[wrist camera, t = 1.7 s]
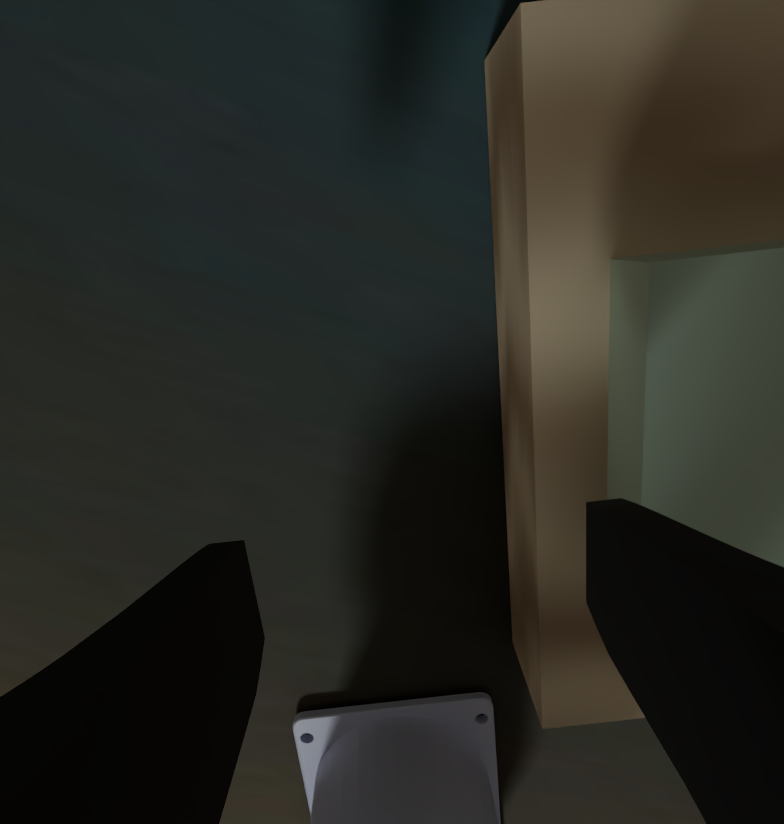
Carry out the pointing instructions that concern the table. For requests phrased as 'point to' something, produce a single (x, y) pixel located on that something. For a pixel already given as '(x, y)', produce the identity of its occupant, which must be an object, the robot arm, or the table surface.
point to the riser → (605, 261)
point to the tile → (701, 390)
